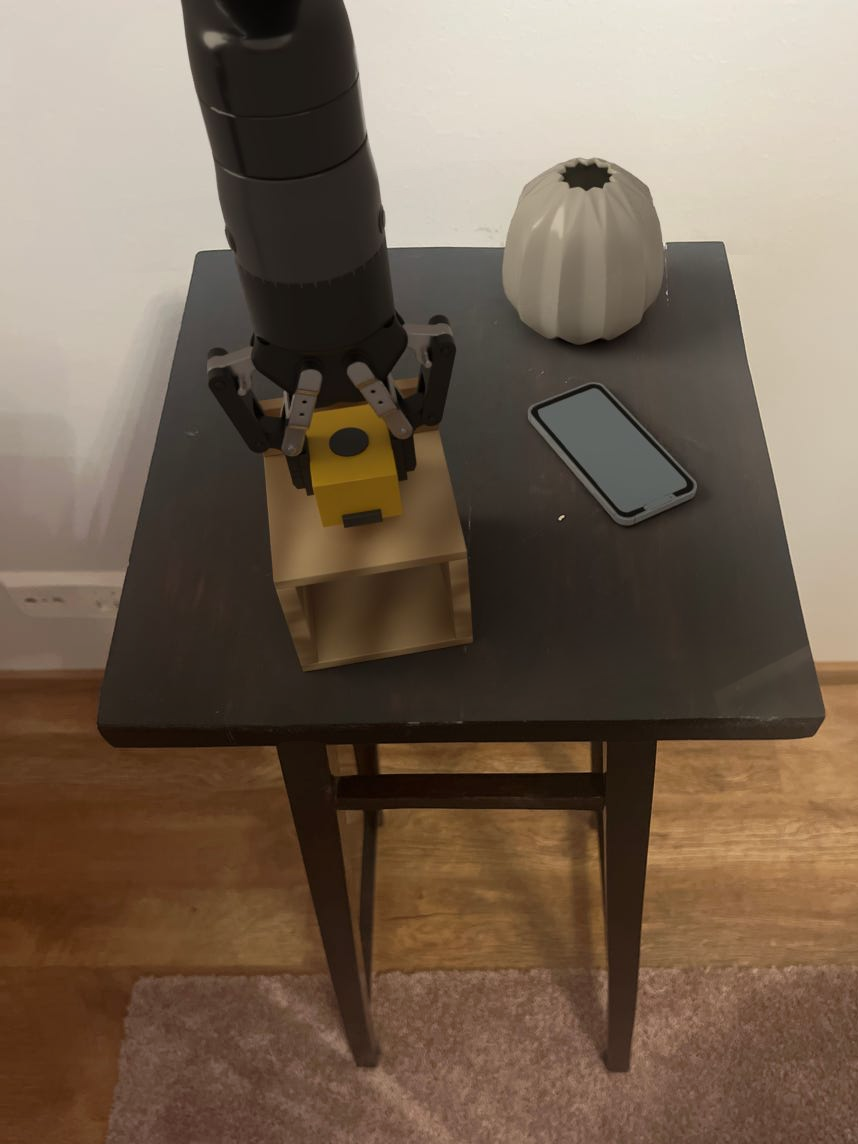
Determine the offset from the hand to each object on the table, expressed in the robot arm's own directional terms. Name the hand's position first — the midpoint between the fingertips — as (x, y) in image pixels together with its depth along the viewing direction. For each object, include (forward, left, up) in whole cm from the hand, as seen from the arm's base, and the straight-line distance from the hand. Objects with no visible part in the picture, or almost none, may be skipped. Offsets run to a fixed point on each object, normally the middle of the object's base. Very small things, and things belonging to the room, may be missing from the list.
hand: (355, 478), depth 61 cm
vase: (+22, +28, -12) cm, 38 cm away
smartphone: (+20, +10, -12) cm, 26 cm away
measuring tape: (0, 0, -1) cm, 1 cm away
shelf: (0, 0, -12) cm, 12 cm away
